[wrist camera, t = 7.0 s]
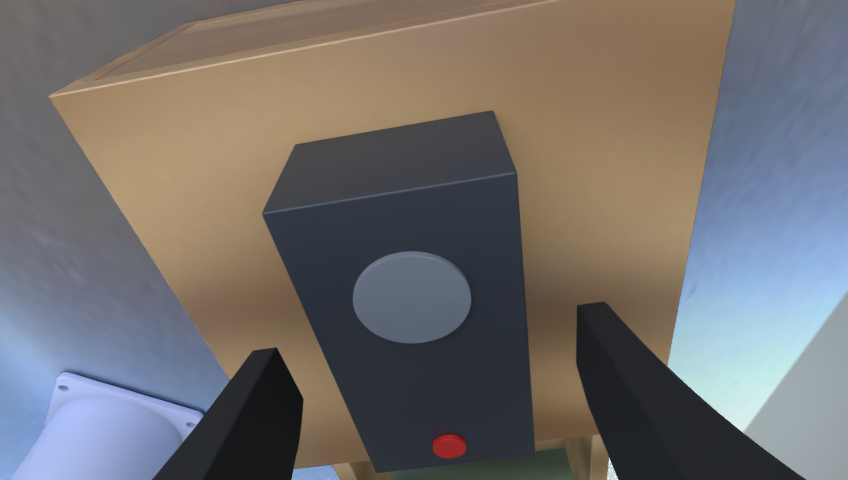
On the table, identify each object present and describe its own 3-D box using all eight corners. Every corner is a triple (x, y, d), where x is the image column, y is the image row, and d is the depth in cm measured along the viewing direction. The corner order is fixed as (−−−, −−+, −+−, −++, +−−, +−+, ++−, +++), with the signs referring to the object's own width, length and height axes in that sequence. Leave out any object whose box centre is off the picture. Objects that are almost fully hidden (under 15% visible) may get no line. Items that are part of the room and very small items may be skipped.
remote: (517, 370, 16) (537, 461, 13) (381, 386, 16) (375, 479, 14) (493, 108, 11) (519, 176, 8) (294, 143, 11) (257, 217, 8)
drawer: (581, 483, 33) (608, 579, 28) (394, 502, 34) (390, 598, 29) (588, 282, 22) (634, 383, 18) (316, 321, 23) (291, 425, 19)
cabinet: (594, 295, 24) (656, 429, 18) (317, 333, 25) (287, 470, 19) (611, -63, 15) (744, -38, 9) (182, 23, 16) (45, 96, 10)
